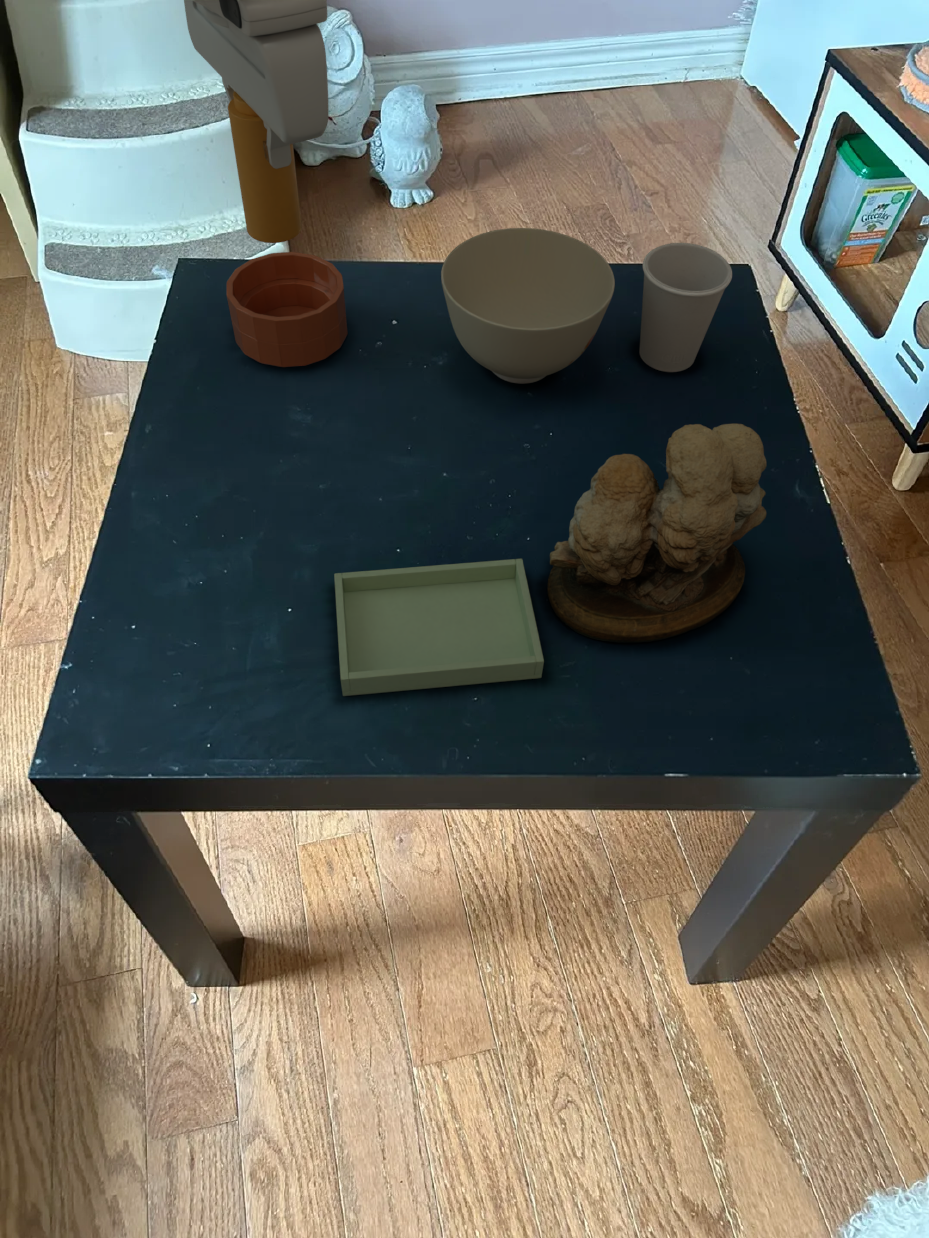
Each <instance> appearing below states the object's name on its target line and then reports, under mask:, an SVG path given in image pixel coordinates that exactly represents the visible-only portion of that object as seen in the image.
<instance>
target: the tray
mask: <svg viewBox="0 0 929 1238" xmlns="http://www.w3.org/2000/svg"><path fill="white" fill-rule="evenodd" d="M333 575H334V592H335V609H336V610H335V611H336V627H337V642H338V644H337V645H338V658H339V675H340V676H339V677H340V686H341V693H342V697H349V696H359V695H371V694H381V693H382V694H383V693H392V692H394V693H395V692H403V691H414V690H425V689H436V688H445V687H447V688H448V687H458V686H468V685H479V684H490V683H491V684H492V683H500V682H512V681H513V682H514V681H523V680H532V679H533V680H534V679H541V678H542V676H543V669H544V663H545V658H544V655H543V649H542V645H541V644H542V643H541V640H540V635H539V631H538V626H537V621H536V616H535V612H534V607H533V602H532V597H531V593H530V587H529V584H528V578H527V575H526V570H525V565H524V560H523V558H511V559H500V560H499V559H497V560H487V561H476V562H475V561H474V562H473V561H472V562H462V563H450V564H436V565H425V566H412V567H401V568H398V567H397V568H387V569H385V568H384V569H374V570H373V569H372V570H363V571H348V572H337V573H333Z"/></svg>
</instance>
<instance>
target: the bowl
mask: <svg viewBox="0 0 929 1238" xmlns="http://www.w3.org/2000/svg"><path fill="white" fill-rule="evenodd" d="M443 261H444V262H443V263H442V267H441V271H440V276H441V277H440V278H441V287H442V290H443V294H444V299H445V303H446V307H447V311H448V316H449V318H450V323H451V325H452V328H453V331H454V334H455V336H456V339H458V341H459V343H460V345H461V346H462V348H463V349H464V350H465V352H466V353H467V354H468V355H469V356H470V357H471V358H472V359H473V360H474V361H475V362H476V363H478V364H479V365H480V366H482V367H483V368H485V369H487V370H489V371H491V372H492V373H493V374H494V375H495V376H496V377H498V378H499V379H501V380H503V381H505V382H508V383H511V384H517V385H518V384H519V385H520V384H521V385H525V384H526V385H527V384H533V383H536V382H538V381H541V380H543V379H544V378H545V377H547V376H550V375H552V374H555V373H558V372H560V371H561V370H563V369H566V368H567V367H569V366H570V365H571V364H573V363H574V362H575V361H577V360H578V358H580V357H581V356H582V355H583V353H584V352H585V351H586V349H588V347H589V346H590V344H591V343H592V342H593V339H594V338H595V336H596V333H597V332H598V329H599V327H600V325H601V323H602V322H603V319H604V317H605V314H606V312H607V310H608V307H609V305H610V303H611V301H612V298H613V295H614V292H615V287H616V285H615V284H616V283H615V282H616V280H615V276H614V272H613V269H612V267H611V266H610V264H609V263H608V261H607V260H606V258H604V256H603V255H602V254H600V253H599V252H598V251H597V250H596V249H594V248H593V247H592V246H590V245H588V244H587V243H585V242H584V241H582V240H579V239H577V238H575V237H572V236H570V235H567V234H564V233H561V232H557V231H554V230H549V229H543V228H533V227H532V228H531V227H511V228H500V229H494V230H490V231H486V232H482V233H480V234H477V235H475V236H471V237H470V238H468V239H466V240H464V241H463V242H461V243H460V244H458V245H457V246H456V247H454V248H453V249H452V250H451V251H450V252H449V253H448V255H447V256H446V258H445V260H443Z"/></svg>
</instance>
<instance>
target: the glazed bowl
mask: <svg viewBox="0 0 929 1238" xmlns="http://www.w3.org/2000/svg"><path fill="white" fill-rule="evenodd" d="M226 299H227V304H228V309H229V315H230V319H231V324H232V325H231V326H232V329H233V336H234V341H235V343H236V345H237V346H238V347H239V348H240V350H241V351H242V353H243V354H244V355H245V356H246V357H249V358H250V359H252V360H254V361H256V362H258V363H259V364H264V365H270V366H273V367H280V368H291V367H304V366H308V365H311V364H314V363H317V362H321V361H323V360H325V359H327V358H329V357H330V356H331V355H333V353H335V352H337V351H338V350H339V349H341V347H342V345H343V344H344V341H345V340H346V338H347V336H348V323H347V321H348V320H347V311H346V300H345V299H346V298H345V287H344V279H343V274H342V273H341V272H340V271H339V269H337V267H336V266H335V265H334V264H333V263H332V262H330V261H328V260H326V259H324V258H322V257H320V256H318V255H315V254H309V253H305V252H298V251H285V252H284V251H283V252H271V253H267V254H263V255H260V256H257V257H254V258H251V259H249V260H248V261H246V262H245V263H243V264H241V265H240V266H238V267H237V268H235V269H234V271H233V272H232V274H231V275H230V276H229V278H228V279H227V281H226Z"/></svg>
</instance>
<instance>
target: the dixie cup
mask: <svg viewBox="0 0 929 1238" xmlns="http://www.w3.org/2000/svg"><path fill="white" fill-rule="evenodd" d="M642 271H643V286H642V287H643V290H642V304H641V305H642V306H641V318H640V319H641V321H640V338H639V351H638V352H639V356H640V358H641V360H642V361H643V363H645V364H646V365H647V366H649V367H651V368H652V369H655V370H656V371H657V370H658V371H661V372H665V373H677V372H682V371H685V370H687V369H688V368H690V367H691V366H692V365H693V364H694V362H695V360H696V359H697V358H696V357H697V355H698V353H699V351H700V348H701V346H702V344H703V341H704V340H705V339H704V338H705V337H706V334H707V332H708V329H709V328H710V324H711V322H712V320H713V318H714V315H715V313H716V311H717V308H718V306H719V304H720V301H721V300H722V299H721V298H722V297H723V295H724V292H725V290H726V289H727V287H728V286H729V285H730V283H731V281H732V279H733V269H732V266H731V264H730V263H729V262H728V261H727V259H726V258H725V257H724V256H723V255H721V254H720V253H719V252H717V251H715V250H713V249H711V248H709V247H707V246H703V245H700V244H697V243H690V242H671V243H665V244H662V245H659V246H657V247H655V248H653V249H651V250H650V251H649V252H647V254H646V255H645V257H644V258H643V261H642Z"/></svg>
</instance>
